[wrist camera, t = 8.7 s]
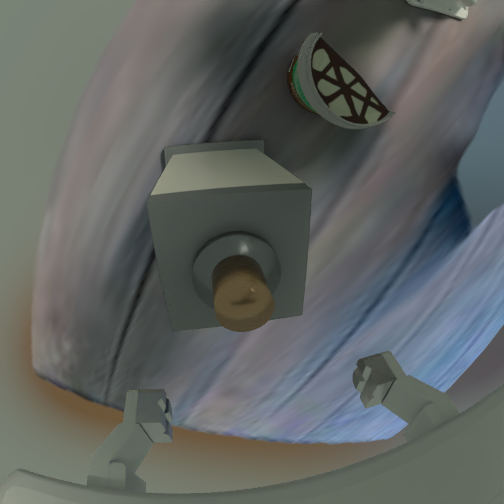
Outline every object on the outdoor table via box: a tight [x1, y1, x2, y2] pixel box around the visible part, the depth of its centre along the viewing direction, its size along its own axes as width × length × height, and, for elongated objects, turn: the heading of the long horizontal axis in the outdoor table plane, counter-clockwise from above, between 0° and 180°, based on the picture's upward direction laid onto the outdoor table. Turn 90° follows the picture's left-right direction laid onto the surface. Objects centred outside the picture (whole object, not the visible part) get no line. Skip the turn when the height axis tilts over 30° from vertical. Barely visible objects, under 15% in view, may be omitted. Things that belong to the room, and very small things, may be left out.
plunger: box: [192, 231, 281, 332], centre depth 23 cm, size 7×7×19 cm
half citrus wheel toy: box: [287, 32, 395, 129], centre depth 28 cm, size 12×6×10 cm, turn 50°
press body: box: [147, 139, 312, 331], centre depth 28 cm, size 12×12×20 cm
